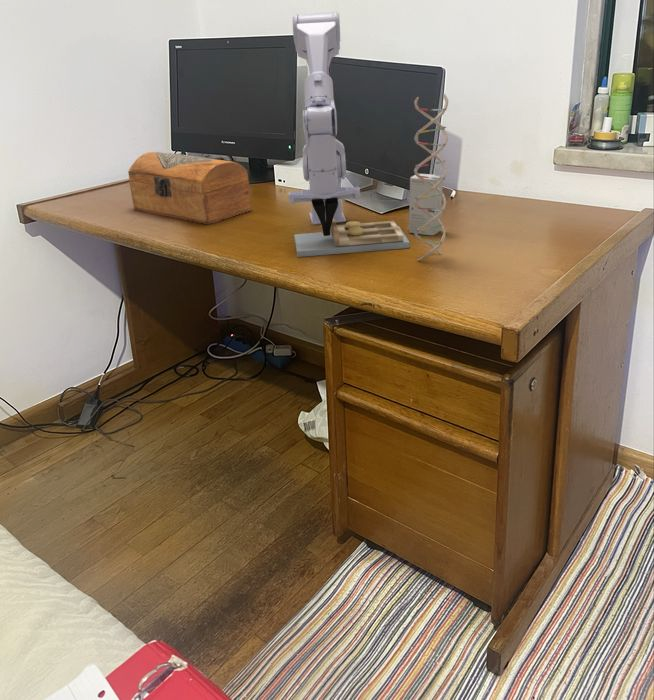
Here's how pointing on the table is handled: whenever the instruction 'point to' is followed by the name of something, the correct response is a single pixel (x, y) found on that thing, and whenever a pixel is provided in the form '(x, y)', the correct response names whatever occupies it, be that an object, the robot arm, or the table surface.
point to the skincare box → (424, 204)
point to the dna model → (433, 154)
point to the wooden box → (189, 187)
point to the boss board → (325, 245)
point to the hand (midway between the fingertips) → (326, 234)
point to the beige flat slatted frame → (366, 233)
